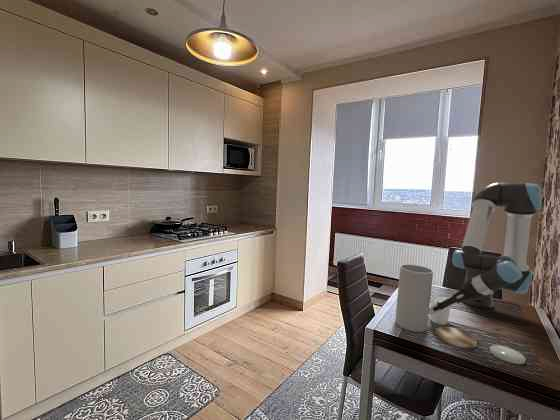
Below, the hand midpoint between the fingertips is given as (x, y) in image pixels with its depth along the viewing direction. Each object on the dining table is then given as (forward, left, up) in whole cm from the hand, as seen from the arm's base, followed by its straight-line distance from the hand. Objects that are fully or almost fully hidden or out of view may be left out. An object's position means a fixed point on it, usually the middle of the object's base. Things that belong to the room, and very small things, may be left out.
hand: (435, 309), depth 128 cm
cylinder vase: (+15, +1, -5) cm, 16 cm away
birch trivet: (+5, +14, -5) cm, 16 cm away
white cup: (-1, +1, -5) cm, 6 cm away
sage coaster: (-3, +28, -5) cm, 29 cm away
